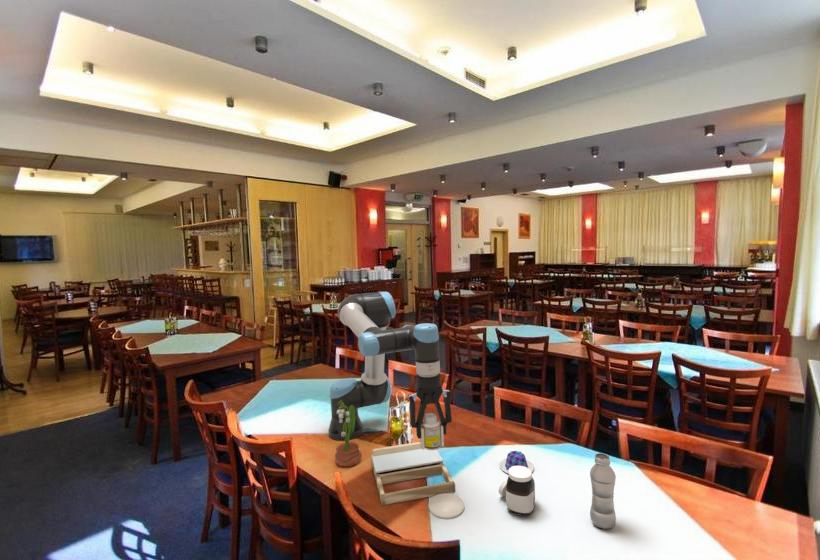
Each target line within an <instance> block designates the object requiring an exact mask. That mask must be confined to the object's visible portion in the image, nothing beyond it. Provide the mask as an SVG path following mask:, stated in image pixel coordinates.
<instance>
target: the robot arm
mask: <svg viewBox="0 0 820 560" xmlns="http://www.w3.org/2000/svg"><path fill="white" fill-rule="evenodd" d="M396 313H397V310H396V305H395V301H394V298H393V296H392V294H391V293H390V292H388V291H377V292H364V293H353V294H350V295H349V296H347V297H345V298H344V299H343V300H342V301H341V302H340V304H339V305H338V308H337V316H338V319H339V321H340V322H341V323H342V325H344V326H346V327H348V328H349V329H350V330H351V331H352V333H353V334H354V335H355V337H357V338H358V341H357V343H358V344H357V346H358V350H359V353H360V355H361V356H362V357H364V359H365V360H364V372H363V373H361V376H360V377H361V378H360V380H356V378H354V377H348V378H346V377H345V378H343V379H341V378H340V379H338V380H337V381H335V382H334V383H332V384H331V386H330V388H329V393H330V394H329V398H330V411H331V418H330V419H331V420H330V422H329V423H330V424H329V427H328V436H329V438H330V439H332V440H334V441H341V442H342V441H345V436H344V437H343V436H342V435H341V433H342V432H343V431H344V429H343V425H344V423H345V416H344V415H345V414H344V413H343V414H344V415H343V417H344V418H342V420H343V422H342V423H339V420H340V419H339V414H338V413H337V410H339V409H340V404H341V403H342V402H343V403H344V405H345V406H347V407H345V409H346V412H347V408H348V410H349V407H350V406H351V405H353V406H354V410H355V424H354V430H353V432H352V434H351V436H350V440H354V439H356V438H359V437H360V436H361V435H362V434H363V433H364V426H363V423H362V420H361V418H360V416H359V409H360V408H364V407H369V406H375V405H381V404H383V403H384V404H385V403H387V402H388V401H389V400H390V398H391V395H392V387H391V385H392V384H391V380H390V378H389V377H388V376H387V374H386V373H385V358H386V357H385V356H386V355H385V354H391V353H400V352H405V351H414V355H415V356H414V358H415V371H416V374H417V375H416V391H415V392H414V393H413V394H410V393H409V394H407V398H408V402H409V424H410V427H411V428H413V429H414V428H415V429H416V430H415V431H416V437H417V439H419V442H420V446H421V448H422V450H424V449H425V444H424V429H423V427H422V422H423V421H424V415H425V414H426V413H425V412H426V408H427V406H428V405H431V404H434V406H435V410H436V412H437V415H438V418H439V422H440V438H441V446H440V447H442V448H443V447H445V440H444V439H445V438H444V436H445V435H447V426H448V424H449V423H452V409H451V400H450V398H451V396H452V395H451V394H452V392H451V391H450V390H449V389H443V388H442V380H441V374H440V372H441V363H440V360H441V359H440V335H439V328H438V326H437V324H435V323H428V322H427V323H418V324H416V325H413V324H405V325H404V326H401V327H399V328H392V329H390V328H389V329H387V327H389V326H390V324H391V320H392V319H395V317H396ZM441 396H443V404H444V413H443V410H442V406H441V404H440V398H441ZM417 398H418V400H420V401H419V408H418V413H417V417H416V401H417ZM341 400H342V401H341ZM340 401H341V402H340ZM338 403H339V404H338ZM342 405H343V404H342ZM342 405H341V409H344V407H342ZM336 413H337V414H336Z"/></svg>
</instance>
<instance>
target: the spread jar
mask: <svg viewBox="0 0 820 560" xmlns="http://www.w3.org/2000/svg"><path fill="white" fill-rule="evenodd" d="M508 473H509V474H508ZM508 473H507V474H508V477H507V478H505V479H504V480H503V481H502V482H501V483H500V486H499V488H498V494H499V495H500V496H501V497H502V498H505V502H506V508H507V509H508V510H509V511H510V512H511V513H514V514H515V515H518V516H529V515H531V514H532V513H533V511H534V509H535V505H536V483H535V480H534V478H533V475H532V474H533V472H531V470H530V469H529V468H527V467H524V466H512V467H511V468H509V470H508Z"/></svg>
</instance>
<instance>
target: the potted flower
mask: <svg viewBox="0 0 820 560" xmlns="http://www.w3.org/2000/svg"><path fill="white" fill-rule="evenodd" d="M341 401H342V400H341ZM341 401H340V402H341ZM338 404H339V403H338ZM342 404H343V405H342ZM341 405H342V407H344V409H341ZM345 407H347V406H345V405H344V403H343V402H342V403H341V404H340V409H339V410H337V413H338V414H339V419H340V420H339V423H342V422H343V420H342V418H344V417H343V415H344V414H345V415H344V416H345V423H344V425H343V429H344V431H343V432H342V433H341V435H342V436H343V437H344V436H345V440H344V442H343V443H340V444H338V445H337V447H336V448H335V450H336V453H335V456H334V461H335V463H336V464H337V465H339V466H341V467H351V466H354V465H356V464H358V463H359V461H360V460H361V458H362V453H361V450H360V444H358V443H357V442H354V441H350V440H351V439H350V436H351V434H352V432H353V430H354V424H355V410H354V406H353V405H351V406H350V407H349V410H348V408H347V412H346V409H345ZM337 413H336V414H337ZM343 413H344V414H343Z"/></svg>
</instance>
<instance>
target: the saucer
mask: <svg viewBox="0 0 820 560" xmlns="http://www.w3.org/2000/svg"><path fill="white" fill-rule="evenodd" d="M464 510H465V503H464V500H463V499H462V498H461V497H460V496H458V495H457V494H453V493H442V494H438V495H435V496H431V498H429V501H428V511H429V512H430V514H431V515H432V516H434V517H435V518H438V519H442V520H449V519H455V518H458V517H460V516H461V515H462V514H463V512H464Z"/></svg>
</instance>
